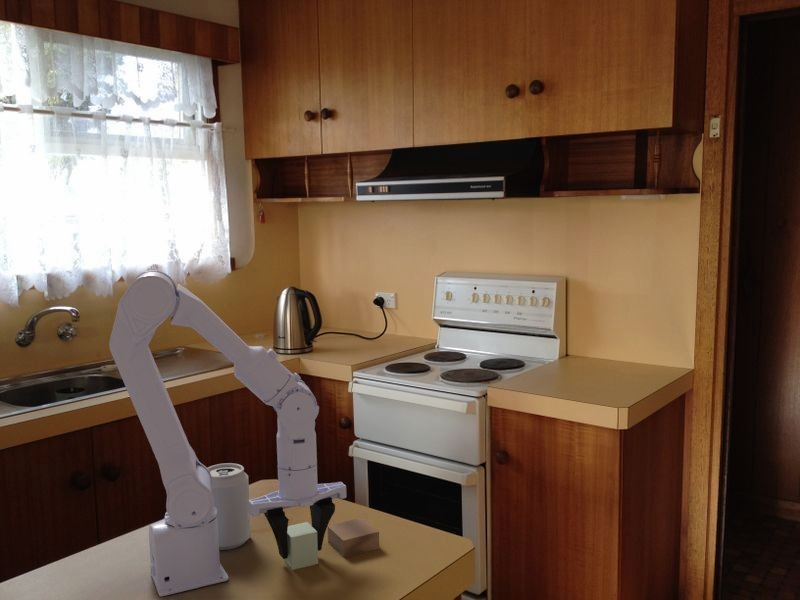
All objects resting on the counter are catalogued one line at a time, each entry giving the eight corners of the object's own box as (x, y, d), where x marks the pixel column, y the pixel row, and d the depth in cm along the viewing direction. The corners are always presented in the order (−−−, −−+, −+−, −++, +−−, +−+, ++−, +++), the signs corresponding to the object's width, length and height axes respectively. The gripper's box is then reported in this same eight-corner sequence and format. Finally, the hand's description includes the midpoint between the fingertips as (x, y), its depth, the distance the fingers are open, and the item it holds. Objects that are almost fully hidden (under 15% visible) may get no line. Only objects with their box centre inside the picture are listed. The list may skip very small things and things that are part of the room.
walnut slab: (344, 559, 113) (343, 540, 112) (328, 544, 118) (327, 526, 117) (379, 550, 115) (378, 531, 115) (362, 535, 121) (361, 517, 120)
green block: (292, 570, 109) (291, 537, 108) (283, 559, 112) (282, 527, 112) (318, 563, 111) (317, 531, 110) (308, 553, 114) (307, 521, 114)
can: (254, 530, 122) (251, 459, 121) (246, 551, 115) (243, 476, 114) (208, 532, 122) (205, 461, 121) (197, 553, 115) (193, 477, 113)
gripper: (256, 481, 103) (260, 574, 105) (353, 463, 109) (355, 551, 111) (243, 466, 109) (246, 554, 111) (335, 450, 116) (337, 533, 117)
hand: (300, 551), depth 111 cm, fingers open, 5 cm apart
